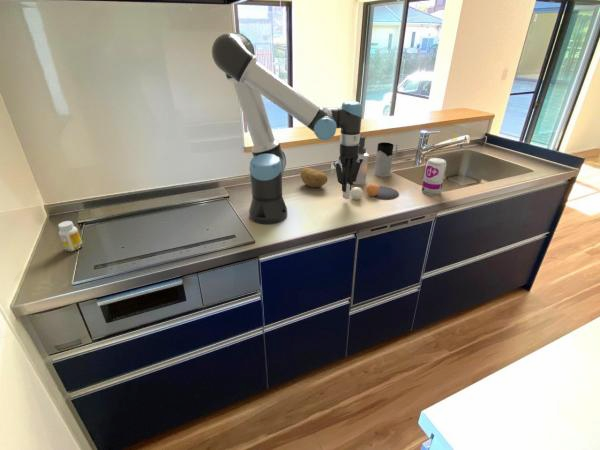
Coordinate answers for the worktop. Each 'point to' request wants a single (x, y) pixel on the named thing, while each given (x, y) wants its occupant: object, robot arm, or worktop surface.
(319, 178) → the potato
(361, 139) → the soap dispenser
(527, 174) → the worktop surface
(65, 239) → the supplement bottle
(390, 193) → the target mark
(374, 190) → the object ball
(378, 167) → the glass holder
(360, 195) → the cue ball
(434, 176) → the supplement can
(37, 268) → the worktop surface
